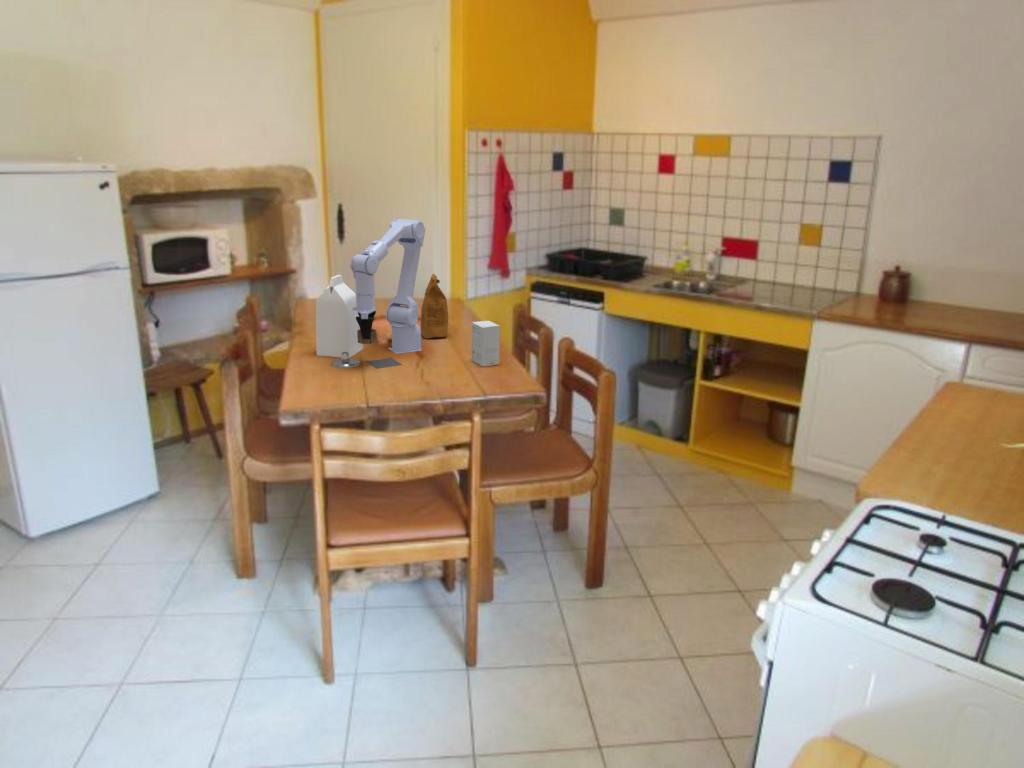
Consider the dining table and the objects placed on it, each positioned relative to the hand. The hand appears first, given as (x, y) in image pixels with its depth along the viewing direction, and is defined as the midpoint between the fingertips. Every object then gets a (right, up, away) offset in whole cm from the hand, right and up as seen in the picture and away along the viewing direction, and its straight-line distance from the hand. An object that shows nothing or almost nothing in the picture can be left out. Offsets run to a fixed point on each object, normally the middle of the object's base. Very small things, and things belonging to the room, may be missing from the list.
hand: (366, 336), depth 236 cm
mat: (+5, -9, +4) cm, 11 cm away
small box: (+37, -8, +9) cm, 39 cm away
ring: (0, -2, +1) cm, 2 cm away
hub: (-7, -9, +2) cm, 12 cm away
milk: (-12, -5, +15) cm, 20 cm away
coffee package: (+17, +3, +41) cm, 44 cm away
